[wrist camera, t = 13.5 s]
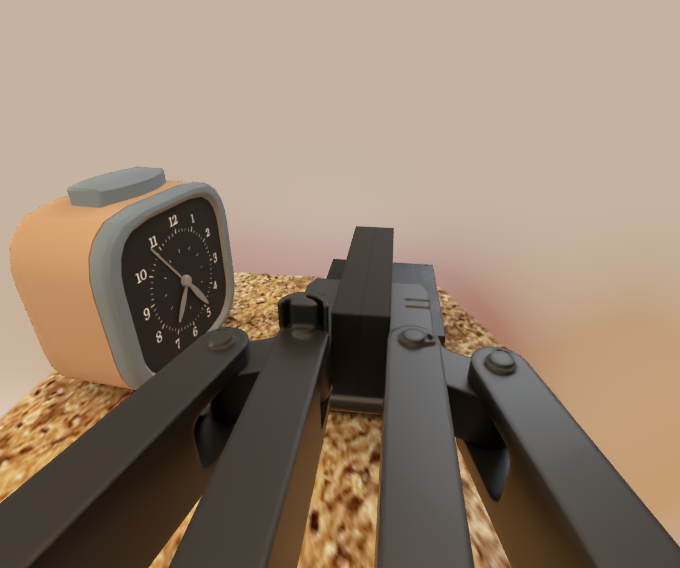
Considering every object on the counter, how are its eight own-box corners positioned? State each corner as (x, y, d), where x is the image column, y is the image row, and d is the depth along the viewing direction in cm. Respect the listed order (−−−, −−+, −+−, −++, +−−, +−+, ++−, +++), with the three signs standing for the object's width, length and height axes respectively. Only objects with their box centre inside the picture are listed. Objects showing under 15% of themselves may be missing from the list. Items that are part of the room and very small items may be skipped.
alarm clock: (150, 425, 39) (85, 211, 29) (68, 409, 40) (-20, 202, 30) (241, 315, 56) (220, 160, 46) (181, 307, 58) (149, 156, 48)
